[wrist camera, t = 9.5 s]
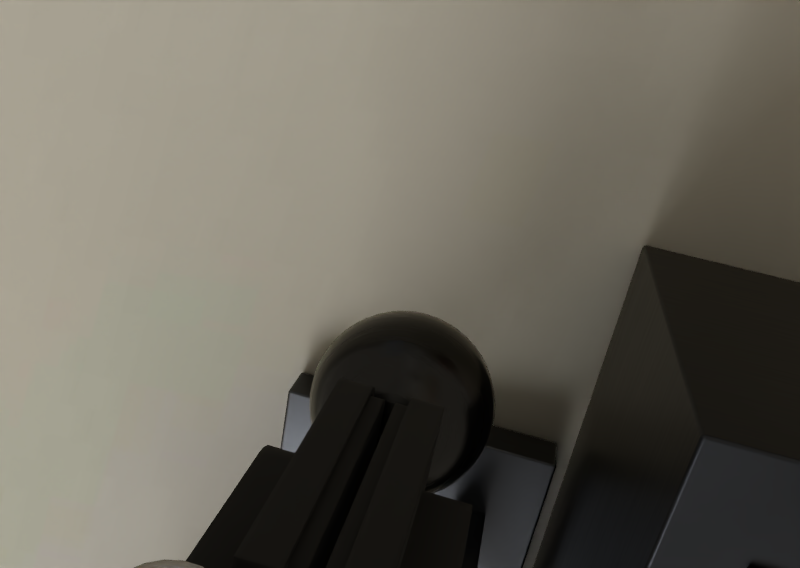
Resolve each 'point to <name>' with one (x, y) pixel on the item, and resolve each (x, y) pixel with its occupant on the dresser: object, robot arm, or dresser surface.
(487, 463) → the lever bracket
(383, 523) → the robot arm
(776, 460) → the toaster
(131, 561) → the dresser surface
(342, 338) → the toaster lever
